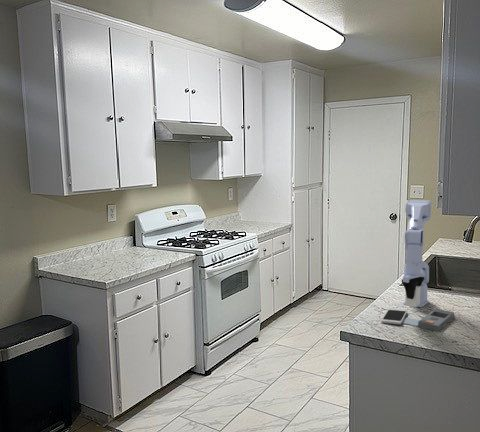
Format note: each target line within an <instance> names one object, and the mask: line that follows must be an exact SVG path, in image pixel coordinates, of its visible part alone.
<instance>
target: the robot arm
mask: <svg viewBox="0 0 480 432" xmlns="http://www.w3.org/2000/svg"><path fill="white" fill-rule="evenodd" d="M404 207H405V209H404V210H405V211H404V212H405V217H406V219H407V220H408V222H407V227H406V228H407V229H406V230H405V231H404V245H405V247H404V250H405V262H404V265H403V267H404V268H403V277H402V279H401V283H402V285H403V287H404V291H405V296H406V295H407V298H409V299H413V298H414V294H415V289H416V286H421V287H420V305H418V306H417V307H416V308H423V307H424V306H425V305H427V304H428V303H430V300H428V292H429V291H428V290H429V289H428V285H427V284H428V283H429V282H430V281H429V280H430V267H429V264H428V263H427V262H425V261H424V260H423V253H424V252H423V250H424V249H423V247H424V246H423V245H424V243H425V232H424V227H425V223H426V222H427V221H430V219H431V215H432V201H431V199H430V200H425V199H424V200H421V199H420V200H419V199H418V200H413V199H412V200H410V199H407V200H406V201H405V206H404ZM403 304H404V305H405V301H403V302H402V305H403Z"/></svg>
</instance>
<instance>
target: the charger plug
mask: <svg viewBox="0 0 480 432" xmlns="http://www.w3.org/2000/svg"><path fill="white" fill-rule="evenodd" d="M420 287H421V286H416V289H415V294H414V298H413V299H409V298H407V295H406V294H405V295H404V296H405V300H404V302H405V304H404V305H405V306H408V307H414V308H418V307H417V306H418V305H420Z"/></svg>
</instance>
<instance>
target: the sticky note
mask: <svg viewBox="0 0 480 432" xmlns="http://www.w3.org/2000/svg"><path fill="white" fill-rule="evenodd" d="M420 320H421V319H416V318H413V317H412V318H411V317H405V318H404V320H403V321H402V323H401V324H405V325H408V326H412V327H418V321H420Z"/></svg>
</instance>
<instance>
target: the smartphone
mask: <svg viewBox="0 0 480 432" xmlns="http://www.w3.org/2000/svg"><path fill="white" fill-rule="evenodd" d="M407 313H408V309H403V308H402V309H400V308H392V307H391V308H388V309H387V311H386V312H385V314H384V316H383V317H382V319H381V321H380V322H381V323H382V324H392V325H402V324H403V323H402V321H403V320H404V319H405V318H406V316H407Z"/></svg>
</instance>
